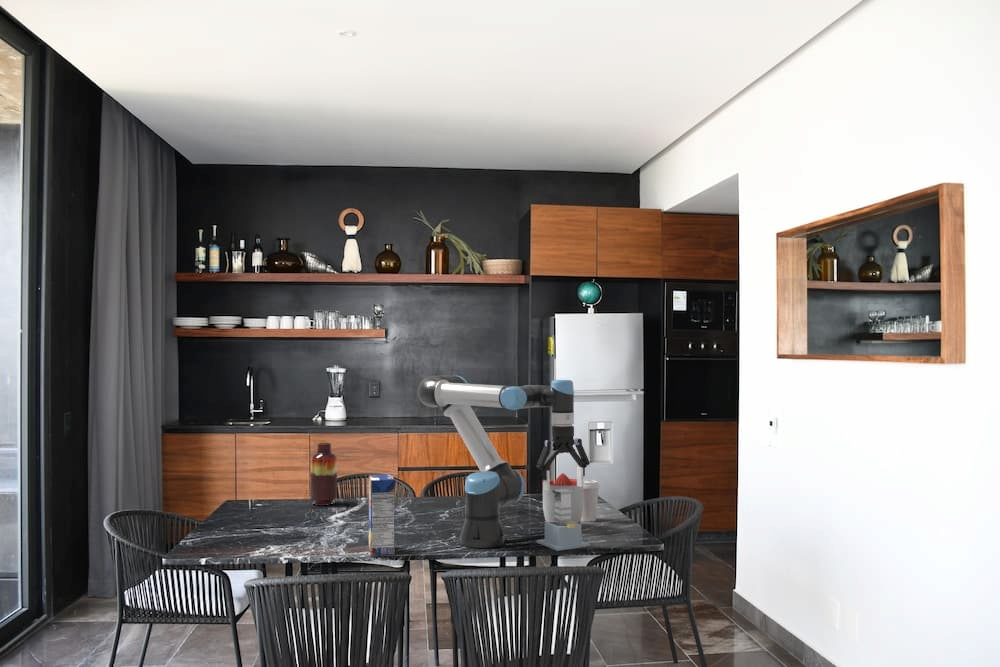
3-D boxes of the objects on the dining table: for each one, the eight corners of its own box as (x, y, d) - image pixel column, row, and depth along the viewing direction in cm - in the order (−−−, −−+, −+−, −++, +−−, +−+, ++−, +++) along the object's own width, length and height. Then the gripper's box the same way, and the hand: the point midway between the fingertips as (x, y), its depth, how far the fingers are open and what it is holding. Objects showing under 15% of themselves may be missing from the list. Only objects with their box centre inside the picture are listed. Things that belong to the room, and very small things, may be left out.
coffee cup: (599, 523, 294) (598, 483, 295) (574, 522, 296) (574, 482, 296) (600, 517, 303) (600, 479, 304) (576, 516, 305) (576, 478, 306)
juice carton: (368, 547, 257) (368, 474, 257) (391, 545, 258) (391, 474, 259) (371, 556, 245) (371, 480, 246) (394, 554, 247) (394, 479, 247)
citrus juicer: (576, 520, 298) (576, 468, 299) (589, 530, 281) (589, 475, 282) (536, 522, 295) (536, 469, 296) (547, 532, 278) (547, 476, 279)
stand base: (557, 550, 252) (557, 526, 252) (536, 542, 263) (536, 519, 264) (589, 546, 258) (589, 522, 258) (568, 538, 270) (568, 515, 270)
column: (560, 546, 257) (560, 492, 258) (552, 542, 262) (552, 490, 262) (573, 544, 260) (573, 491, 260) (565, 540, 264) (564, 488, 265)
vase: (328, 500, 340) (328, 441, 340) (341, 504, 331) (342, 443, 332) (305, 503, 332) (306, 443, 333) (318, 507, 324) (319, 445, 325)
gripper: (537, 427, 253) (538, 493, 252) (599, 424, 265) (600, 486, 264) (525, 426, 259) (526, 489, 258) (586, 422, 271) (587, 483, 270)
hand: (563, 488), depth 261 cm, fingers open, 13 cm apart
